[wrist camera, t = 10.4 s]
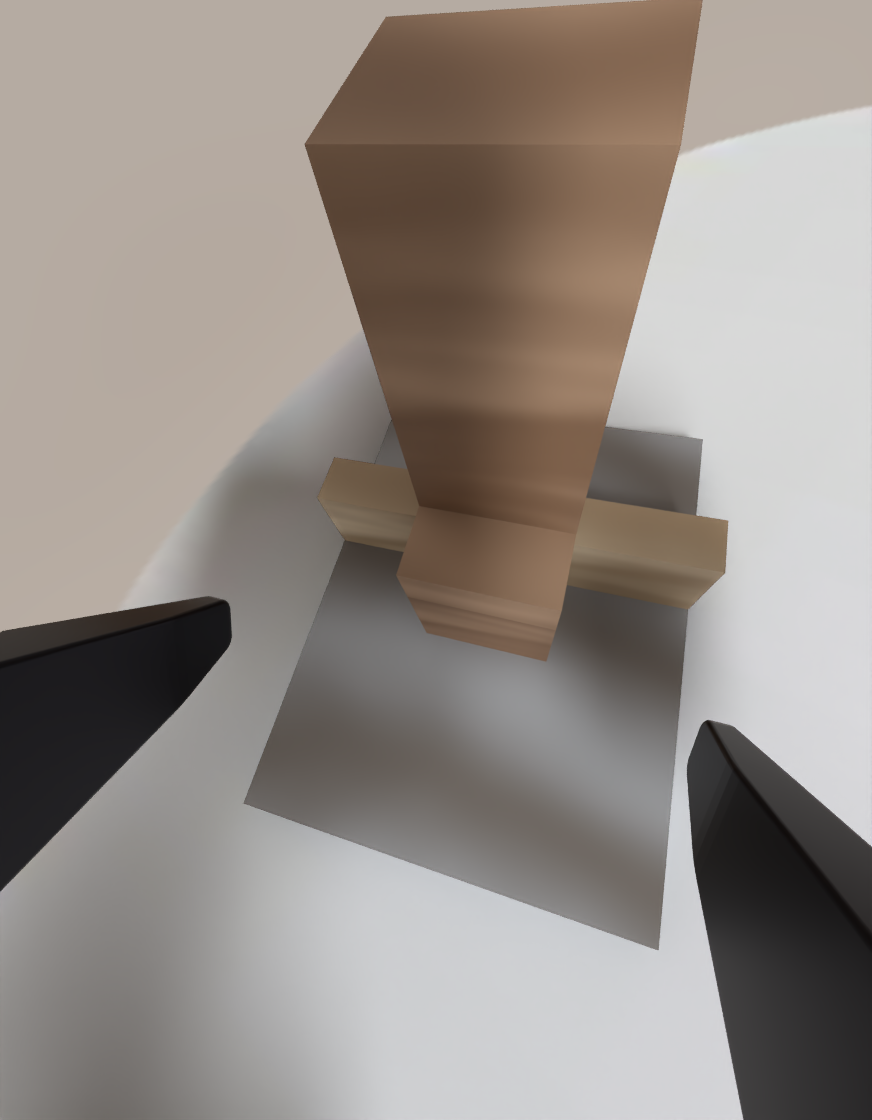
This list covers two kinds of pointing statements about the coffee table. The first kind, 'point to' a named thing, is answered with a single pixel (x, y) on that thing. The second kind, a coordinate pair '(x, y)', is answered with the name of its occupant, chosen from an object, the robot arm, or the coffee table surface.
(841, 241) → the coffee table surface
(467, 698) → the cross plate base
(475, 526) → the wooden block
